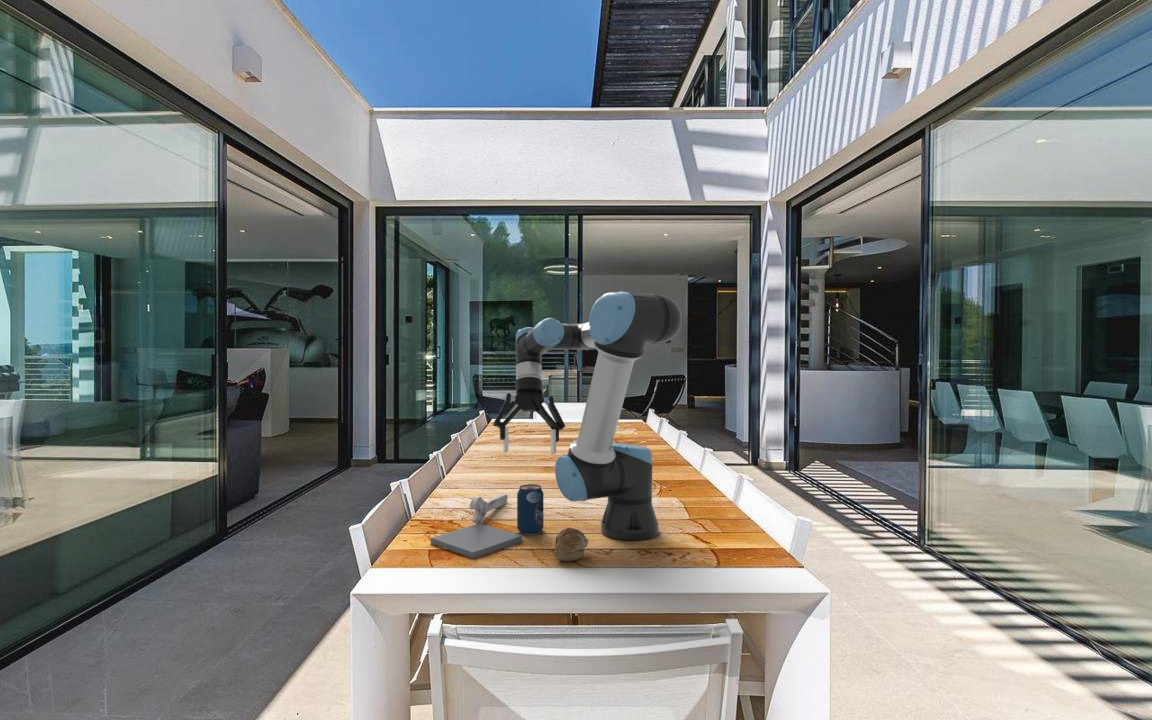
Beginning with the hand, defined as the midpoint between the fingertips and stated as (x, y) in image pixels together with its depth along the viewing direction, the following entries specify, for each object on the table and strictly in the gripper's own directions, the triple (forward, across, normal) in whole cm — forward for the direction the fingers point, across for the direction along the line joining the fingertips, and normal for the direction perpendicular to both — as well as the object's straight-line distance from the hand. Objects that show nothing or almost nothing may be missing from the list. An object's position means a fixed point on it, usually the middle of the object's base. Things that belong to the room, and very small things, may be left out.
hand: (530, 452), depth 169 cm
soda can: (+21, 0, -1) cm, 21 cm away
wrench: (+14, +7, -19) cm, 25 cm away
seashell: (+30, -4, +19) cm, 36 cm away
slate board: (+24, +15, +2) cm, 28 cm away
